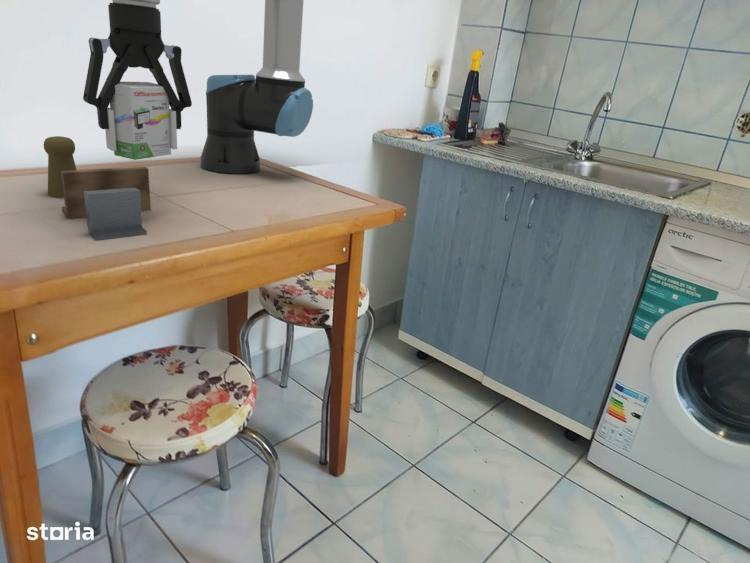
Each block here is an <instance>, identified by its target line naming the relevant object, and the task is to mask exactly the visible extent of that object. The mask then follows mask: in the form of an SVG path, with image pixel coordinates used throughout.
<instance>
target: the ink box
mask: <svg viewBox="0 0 750 563" xmlns="http://www.w3.org/2000/svg"><path fill="white" fill-rule="evenodd" d="M109 108H110V109H112V110H113V111H114V124H115V137H116V150H117V151H113V153H114V154H113V155H114V156H115V157H121V158H124V159H125V158H126V159H130V160H133V161H134V160H142V159H150V158H155V157H161V156H169V155H171V154H172V149H171V141H170V117H169V109H170V105H169V98H168V96H167V94H166V91H165V89H164V87H163V86H161V85H158V83H154V82H150V81H120V83H119V84H117V85H115V93H114V95H113V97H112V99H111V102H110V104H109Z"/></svg>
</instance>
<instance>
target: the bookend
mask: <svg viewBox="0 0 750 563" xmlns="http://www.w3.org/2000/svg"><path fill="white" fill-rule="evenodd" d="M84 197H85V206H86V216H87V217H86V222H87V232H88V234H89V235H90V236H91V238H92V239H93V240H94V241H101V240H102V241H103V240H109V239H110V240H111V239H119V238H128V237H136V236H143V235H147V233H148V231H147V230H146V229H145V228H144V227H143V216H142V211H141V198H140V190H138V189H137V188H123V189H109V190H94V191H84Z"/></svg>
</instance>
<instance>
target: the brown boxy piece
mask: <svg viewBox="0 0 750 563" xmlns="http://www.w3.org/2000/svg"><path fill="white" fill-rule="evenodd" d="M61 176H62V185H63V193H64V198H63V200H64V206H61V212H62V213H64V215H65V216H66V218H68V219H76V218H77V219H78V218H87V216H86V206H85V197H84V191H94V190H109V189H123V188H137V189H138V190H140V198H141V212H148V211H149V212H150V211H151V210H152V209H151V192H150V177H149V168H147V167H146V166H139V167H117V168H112V167H111V168H94V169H93V168H91V169H77V170H69V171H61Z"/></svg>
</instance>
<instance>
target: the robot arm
mask: <svg viewBox="0 0 750 563" xmlns="http://www.w3.org/2000/svg"><path fill="white" fill-rule="evenodd" d="M111 1H112V2H109V4H107V6H108V18H109V20H108V21H109V34H108V37H107V38H96V37H89V39H88V44H89V50H90V55H89V56H90V57H89V62H88V67H87V73H86V78H85V85H84V91H83V96H82V100H83V101H84V102H85V103H87V104H89V105H92V106H95V109H96V114H97V121H98V122H97V123H98V127H99V128H100V129H101V130H105V142H106V148H107V149H109V150H110V151H113V152H114V151H117V150H116V137H115V124H114V111H113V110H112V109H110V102H111V99H112V97H113V95H114V93H115V85H117V84H119V83H120V82H122V81H121V80H122V79H123V76H124V74H125V73H126V72H127V70H128V68H134V69H135V68H139V67H140V68H143V69H148V70H149V72H150V73H151V74H152V76H153V78H154V79H155V81H156V84H158V85H161V86H163V87H164V89H165V91H166V94H167V96H168V98H169V117H170V141H171V150H178V139H177V138H178V137H177V136H178V135H177V132H178V131H177V130H182V129H181V128H182V111H184V109H186V108H190V107H192V105H193V103H192V98H191V94H190V91H189V90H190V89H189V87H188V83H187V79H186V75H185V72H184V68H183V65H182V51H183V50H182V48H181V47H180V46H177V45H174V44H173V45H172V44H171V45H168V44H165V43H164V41H163V40H162V20H161V19H162V18H161V11H160V9H159V8H157V5H158V6H159V4H161V0H111ZM303 13H304V0H264V17H263V18H264V19H263V45H262V46H263V47H262V48H263V50H262V67H261V68H260V70H259V71H257V73H256V74H255V75H254V74H212V75H210V76H208V78H207V80H206V91H205V96H206V98H205V100H206V132H207V133H206V135H207V136H206V138H205V141H204V145H203V148H202V151H201V155H200V167H201V168H202V169H204V170H206V171H210V172H217V173H220V174H222V173H223V174H232V175H233V174H236V175H238V174H252V173H256V172H258V171H260V170H261V159H260V156H259V152H258V149H257V146H256V143H255V142H256V141H255V132H258V133H259V132H260V133H266V134H272V135H277V136H279V137H291V138H292V137H293V138H294V137H295V138H296V137H297V136H299V135H302V133H304V131H305V130H306V129H307V127H308V125H309V123H310V120H311V118H312V114H313V108H314V99H313V94H312V93H311V91H310V89H307V87H306V79H305V78H304V77H303V75H302V74H301V73H300V65H301V63H300V62H301V50H302V49H301V46H302V28H303V15H304V14H303ZM109 47H110V49H111V50H112V51H113V53H114V54H115V59H114V60H113V62H112V67H111V68H110V71H109V72H108V74H107V77H106V79H105V81H104V84H103V86H102V88H101V90H100V92H99V94H98V89H99V84H100V78H101V73H102V69H103V62H104V55H105V54H106V53H107V52H108V48H109ZM163 53H165V58H167V59H168V64H169V67H170V72H171V75H172V79H173V82H174V86H175V90H176V92H177V93H175V90H174V89H173V87H172V85H171V82H169V79H168V78H167V76H166V74H165V72H164V68H163V66H162V65H161V62H160V60H159V59H160V57H162V56H161V55H163ZM97 95H98V96H97Z"/></svg>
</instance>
